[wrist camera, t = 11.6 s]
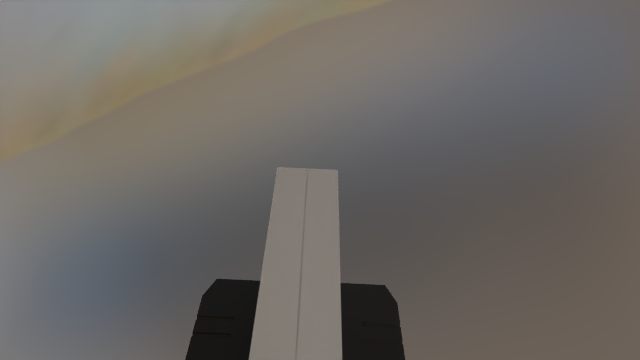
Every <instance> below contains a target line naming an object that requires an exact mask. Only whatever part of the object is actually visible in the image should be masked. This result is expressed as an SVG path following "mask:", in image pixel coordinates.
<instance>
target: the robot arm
mask: <svg viewBox="0 0 640 360" xmlns="http://www.w3.org/2000/svg"><path fill="white" fill-rule="evenodd" d="M186 360H405V355H404V349H403V344H402V334H401V327H400V320H399V313H398V305H397V302H396V301H395V299H394V298H393V296H392V295H391V293H390V292H389V290H388V289H387V288H386V286H385V285H370V284H349V283H340V246H339V205H338V171H337V170H323V169H303V168H302V169H301V168H282V167H278V168H277V174H276V180H275V188H274V194H273V201H272V207H271V214H270V220H269V228H268V234H267V241H266V247H265V254H264V262H263V268H262V274H261V281H253V280H231V279H216V281H215V282H214V283H213V284H212V285H211V286H210V288H209V289H208V290H207V291H206V292H205V293H204V295H203V296H202V299H201V303H200V307H199V310H198V314H197V320H196V322H195V325H194V329H193V336H192V337H191V341H190V344H189V348H188V352H187V355H186Z"/></svg>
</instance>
